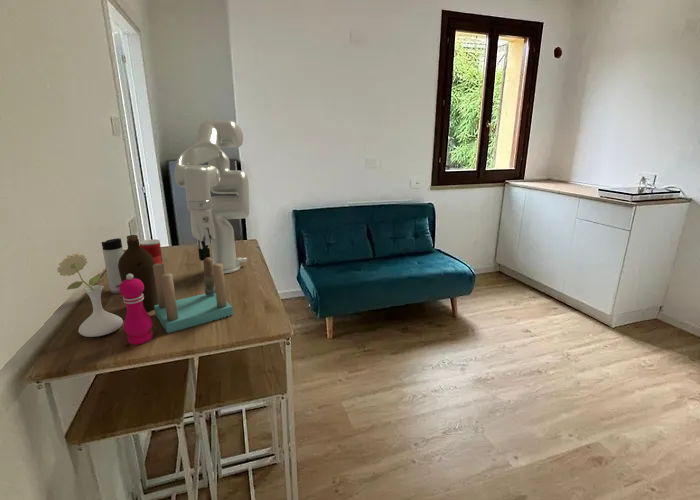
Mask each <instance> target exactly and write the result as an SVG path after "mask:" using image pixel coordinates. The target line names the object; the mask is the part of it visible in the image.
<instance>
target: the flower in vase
mask: <svg viewBox="0 0 700 500" xmlns="http://www.w3.org/2000/svg"><path fill="white" fill-rule="evenodd" d="M87 260H88V258H87V256H86V255H85V254H84V253H82V254H80V253H79V252H77V253H75V252H74V253H72V254H69V255H67V256H66V257H64V258H63V259H62V261H61V262H59V263H58V267H57V269H56V271H57V273H59V276H60V277H61V276H63V277H66V276H68V277H69V276H74V275H75V274H78V276H79V278H80V280H81V281H79V280H76V281H74V282H72V283H70V284H69V285H68V286H67V288H66V290H75V289H78V288H80V287H81V286H82V285H83V284H85V285H86V286H87V287H84V289H83V292H84V293H86V294H87V295H88V296H89V299H90V302H91V305H92V313H91V315H90V316H88V317H87V318H86V319H85V320H84V321H83V322H82V323H81V324H80V325H79V326H78V327H79V328H78V333H79V334H80V335H81V336H83V337H88V338H94V337H101V336H105V335H109V334H111V333H113V332H116V331H117V330H118V329H120V328H121V327H122V326H123V325H124V320H123V318H122V317H120V315H117V314H114V313H112V312H109V311H107V310H105V309H104V308H103V305H102V291H103V289H104V288H105V286H104V285H102V284H97V283H98V282H99V281H100V279H101V273H98V274H96V275H95V276H93V277H92V278H89V281H88V283H86V281H85V280H84V279H83V277H82V275H81V273H80V271H82V270H83V269H84V267H86V264H87V263H88V261H87Z"/></svg>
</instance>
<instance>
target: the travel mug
mask: <svg viewBox="0 0 700 500" xmlns="http://www.w3.org/2000/svg"><path fill="white" fill-rule="evenodd" d="M101 247H102V253H103V260H104V264H105V269H106V274H107V275H106V276H107V279H108V286H109V292H110V293H112V294H120V291H119V286H120V284H121V283H122V281H121V277H120V273H119V269H118V262H119V259H120V257H121V256H122V255H123V254H124V252H125V251H124V247H123V243H122V238H117V237H116V238H112V239H108V240H105V241H102V242H101Z"/></svg>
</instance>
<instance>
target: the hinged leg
mask: <svg viewBox="0 0 700 500" xmlns="http://www.w3.org/2000/svg"><path fill="white" fill-rule="evenodd" d="M203 274H204V275H203V276H204V286H205V288H204V294H206V295H210V294H214V293H216V292H215V282H214V273H213V257H212V258H211V256H210V257H207V258H205V259H204V260H203Z"/></svg>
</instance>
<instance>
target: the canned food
mask: <svg viewBox="0 0 700 500" xmlns="http://www.w3.org/2000/svg"><path fill="white" fill-rule="evenodd" d="M139 246H140V247H141V248H142V249H144V250H145V251H147V252H148V253H149V254H151V256H152V257H153V259H154V262H155V264H159V263H162V264H164V262H163V255H162V247H161V241H160V240H159V239H157V238H156V239H154V238H153V239H145V240H141V241H139Z"/></svg>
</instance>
